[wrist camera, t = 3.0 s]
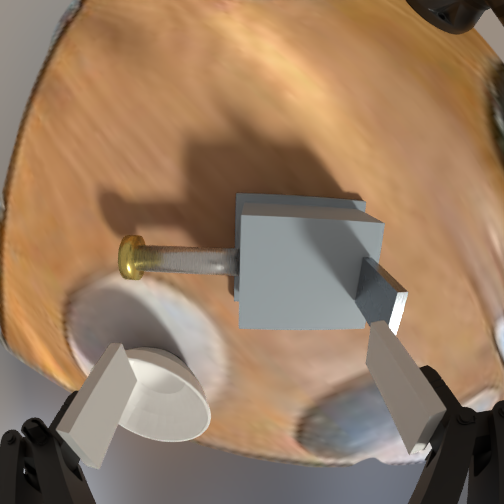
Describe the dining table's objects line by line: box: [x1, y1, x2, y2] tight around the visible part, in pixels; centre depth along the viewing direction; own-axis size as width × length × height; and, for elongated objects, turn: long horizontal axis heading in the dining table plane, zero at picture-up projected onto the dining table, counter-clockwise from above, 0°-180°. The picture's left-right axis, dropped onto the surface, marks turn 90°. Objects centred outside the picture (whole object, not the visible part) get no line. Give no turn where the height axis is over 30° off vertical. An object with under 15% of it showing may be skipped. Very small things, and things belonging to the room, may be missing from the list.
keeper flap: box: [355, 257, 408, 335], centre depth 24 cm, size 8×5×1 cm
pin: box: [118, 235, 240, 280], centre depth 31 cm, size 18×5×5 cm, turn 88°
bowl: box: [90, 347, 211, 442], centre depth 39 cm, size 19×19×8 cm
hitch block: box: [234, 193, 385, 330], centre depth 32 cm, size 16×14×9 cm
